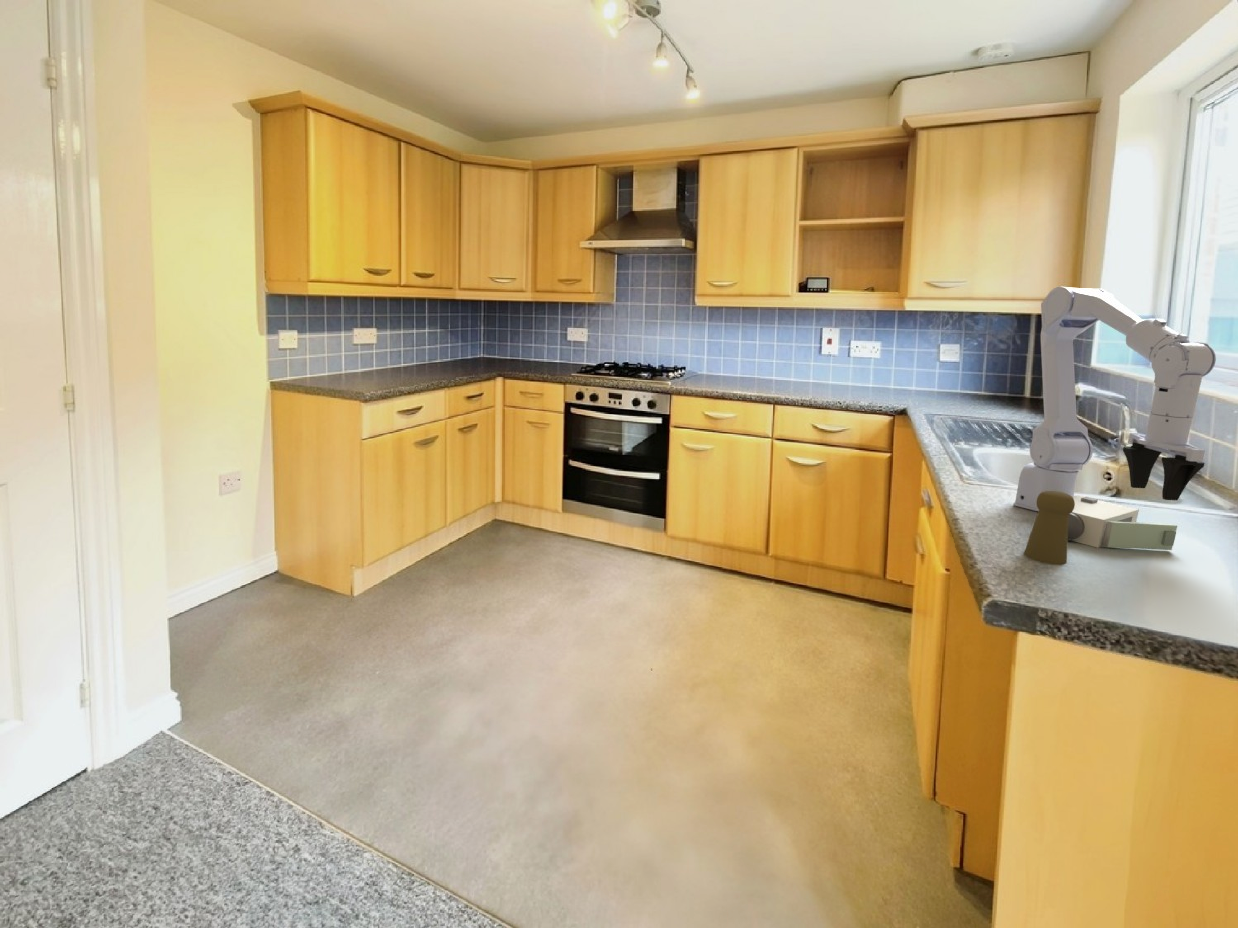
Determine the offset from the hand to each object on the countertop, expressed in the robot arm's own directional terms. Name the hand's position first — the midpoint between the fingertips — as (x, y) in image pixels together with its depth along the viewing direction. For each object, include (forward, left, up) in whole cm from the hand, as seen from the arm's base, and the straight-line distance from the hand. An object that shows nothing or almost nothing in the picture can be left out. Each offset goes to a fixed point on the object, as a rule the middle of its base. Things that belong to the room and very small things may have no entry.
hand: (1153, 493), depth 119 cm
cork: (-5, -23, -10) cm, 26 cm away
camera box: (-8, -2, -9) cm, 13 cm away
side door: (+1, -4, -9) cm, 10 cm away
